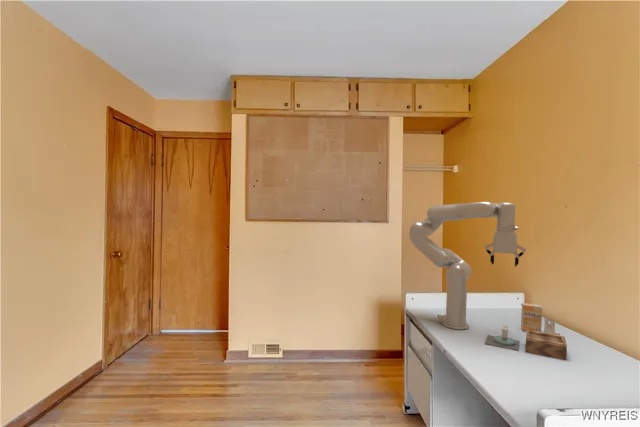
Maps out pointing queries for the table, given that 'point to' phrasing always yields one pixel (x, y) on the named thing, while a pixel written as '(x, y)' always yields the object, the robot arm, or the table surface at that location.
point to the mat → (491, 342)
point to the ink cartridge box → (550, 327)
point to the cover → (505, 338)
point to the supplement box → (531, 317)
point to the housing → (546, 344)
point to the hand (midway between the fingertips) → (504, 265)
